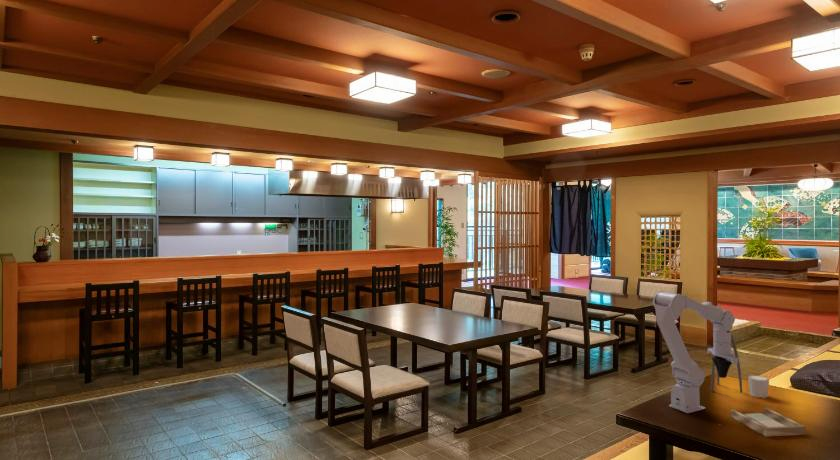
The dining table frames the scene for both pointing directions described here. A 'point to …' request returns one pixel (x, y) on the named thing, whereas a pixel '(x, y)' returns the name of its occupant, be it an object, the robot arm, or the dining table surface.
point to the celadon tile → (758, 417)
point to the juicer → (737, 368)
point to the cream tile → (770, 423)
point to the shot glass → (758, 386)
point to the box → (788, 429)
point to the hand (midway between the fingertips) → (722, 377)
